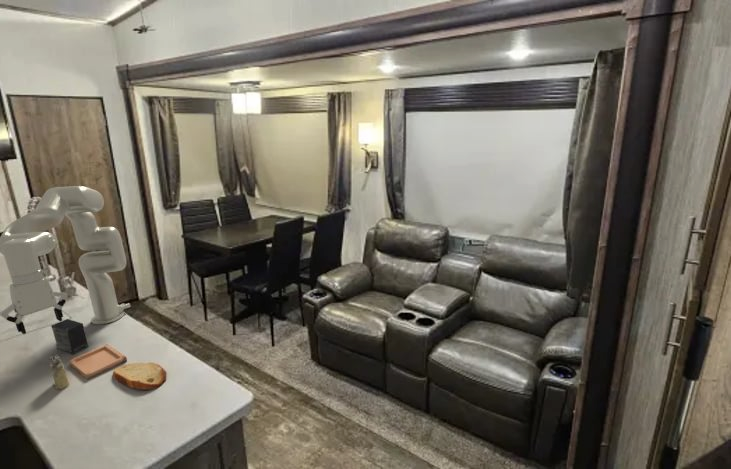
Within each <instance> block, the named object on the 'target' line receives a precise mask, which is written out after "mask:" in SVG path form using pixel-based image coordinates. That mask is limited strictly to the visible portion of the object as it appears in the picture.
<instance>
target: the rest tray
mask: <svg viewBox="0 0 731 469" xmlns="http://www.w3.org/2000/svg"><path fill="white" fill-rule="evenodd" d="M126 362H128V358H127V356H126V355H124V354H123V353H121V352H120V351H118V350H117V349H115V348H114V347H112V346H111V345H109V344H107V343H106V344H103V345H101V346H99V347H97V348H94V349H92V350H89V351H88V352H85V353H83V354H81V355H78V356H75V357H74V358H73V357H72V358H71V359H69V360H68V364H69V365H70V367H72V368H73V369H75V371H77V372H78V373H79V374H81V375H82V376H83V377H84V378H85V379H86V380H91V379H92V378H94V377H96V376H98V375H100V374H103V373H106V372H107V371H109V370H111V369H113V368H115V367H118V366H120V365H122V364H123V363H126Z"/></svg>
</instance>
